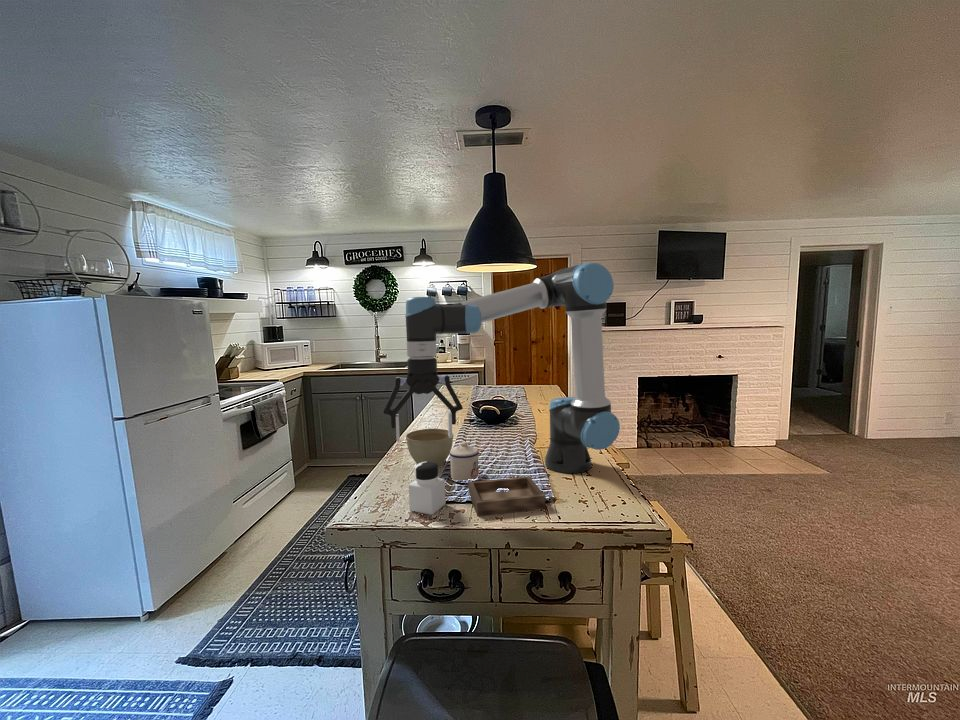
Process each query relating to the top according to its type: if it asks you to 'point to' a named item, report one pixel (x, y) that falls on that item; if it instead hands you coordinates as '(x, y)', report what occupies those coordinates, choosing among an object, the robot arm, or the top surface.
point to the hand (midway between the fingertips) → (424, 438)
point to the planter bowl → (429, 445)
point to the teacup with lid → (464, 462)
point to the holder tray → (506, 496)
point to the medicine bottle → (426, 489)
